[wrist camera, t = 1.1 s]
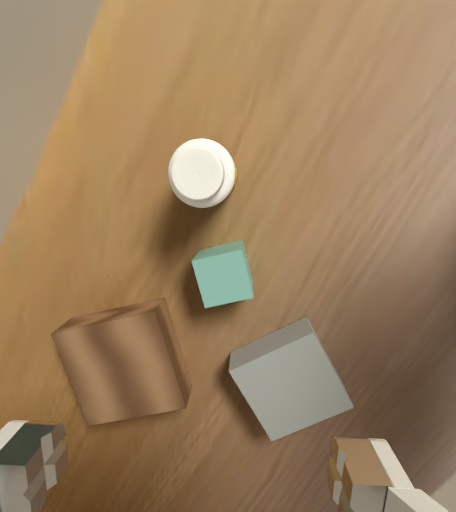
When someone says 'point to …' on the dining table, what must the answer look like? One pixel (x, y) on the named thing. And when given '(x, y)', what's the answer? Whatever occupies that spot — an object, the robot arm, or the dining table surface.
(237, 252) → the teal cube
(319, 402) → the slate block
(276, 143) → the dining table surface
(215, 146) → the supplement bottle
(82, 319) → the walnut block
